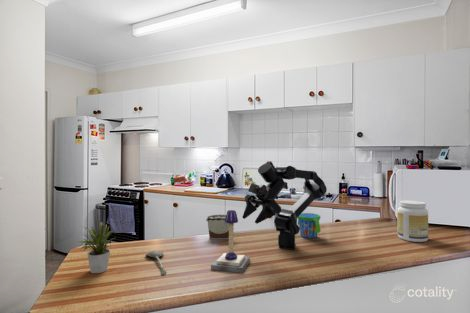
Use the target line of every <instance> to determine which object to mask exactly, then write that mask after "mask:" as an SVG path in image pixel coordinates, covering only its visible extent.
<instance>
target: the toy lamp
mask: <svg viewBox="0 0 470 313" xmlns="http://www.w3.org/2000/svg"><path fill="white" fill-rule="evenodd" d="M225 215H226V218H225V222H226V223H229V239H228V252H227V254H226V256H225V259H228V260H234V259H237V255H238V254H237V255H236V253H235V252H234V251H235V250H234V243H235V242H234V238H235V237H234V233H235V232H234V230H235V228H234V226H235V224H237V223H238V222H239V219H238V214H237V211H236V210H235V209H234V210H233V209H229V210H227V211H226V214H225Z"/></svg>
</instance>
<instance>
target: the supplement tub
mask: <svg viewBox="0 0 470 313" xmlns="http://www.w3.org/2000/svg"><path fill="white" fill-rule="evenodd" d="M398 205H399V207H398V208H397V211H396V212H397V214H396V216H397V217H396V218H397V223H396V224H397V225H396V226H397V231H396V232H397V233H396V234H397V237H398V238H400V240H403V241H408V242H414V243H416V242H417V243H421V242H422V243H423V242H427V241H428V240H429V210H428V209H427V208H426V207H427V205H426V202H424V201H419V200H406V199H405V200H400V201H399V203H398Z"/></svg>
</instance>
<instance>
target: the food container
mask: <svg viewBox="0 0 470 313" xmlns="http://www.w3.org/2000/svg"><path fill="white" fill-rule="evenodd" d="M225 218H226V214H213V215H209V216H207V218H206V220H205V221H206V222H207V227H208V236H209V240H210V239H212V240H213V239H215V240H218V239H219V240H229V223H226V222H225Z"/></svg>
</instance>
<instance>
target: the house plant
mask: <svg viewBox="0 0 470 313" xmlns="http://www.w3.org/2000/svg"><path fill="white" fill-rule="evenodd" d="M104 225H105V227H104ZM81 227H82V228H84V229H85V230H87V232H88V233H89V234H85V233H83V232H82V231H79V233H80V234H81V233H82V235H83V236H85V237H86V238H87V239H88V240H87V239H86V238H82V240H79V241H77V243H79V244H78V245H79V246H81V245H83V246H82V247H81V248H80V249H79V250H82V249H83V251H86V250H87V249H90V251H88V252H87V260H88V265H89V270H90V273H91V274H100V273H104V272H106V271H107V270H108V266H109V260H110V255H111V254H110V253H111V250H110V249H109V247H110V248H112V245H108V243H109V242H110V241H112V240H114V239H115V237H114V238H110V239H109V237H110V236H111V234H112V233H113V232H114V231H115V230H116V228H114V229H113V230H110V231H109V229H110V226H108V225H107V223H106V224H105V222H104V223H103V221H101V222H100V223H99V226H98V231H97V230H96V229H95V228H94V226H91V230H90V229H88V227H85V226H81V225H80V228H81ZM103 227H104V230H103ZM102 230H103V234H102ZM90 238H91V239H92V240H91V239H90ZM108 239H109V240H108ZM84 243H86V244H87V245H84Z"/></svg>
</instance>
